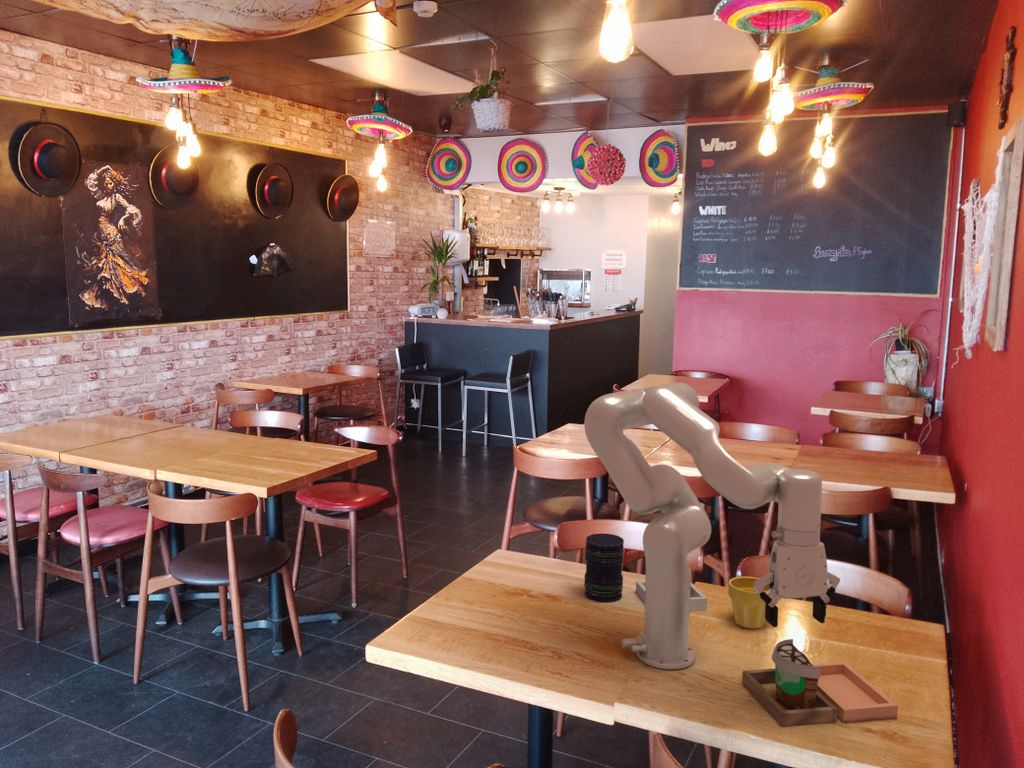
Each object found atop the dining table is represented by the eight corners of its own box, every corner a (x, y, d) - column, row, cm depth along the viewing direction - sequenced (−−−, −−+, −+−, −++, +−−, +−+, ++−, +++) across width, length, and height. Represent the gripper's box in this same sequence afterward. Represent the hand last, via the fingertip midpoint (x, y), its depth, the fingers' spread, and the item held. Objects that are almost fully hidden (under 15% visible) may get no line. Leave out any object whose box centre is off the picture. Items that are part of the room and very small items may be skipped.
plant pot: (731, 610, 193) (732, 572, 191) (774, 618, 188) (776, 580, 187) (722, 627, 183) (724, 587, 182) (768, 636, 179) (770, 595, 178)
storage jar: (624, 589, 205) (626, 535, 203) (620, 604, 195) (622, 547, 193) (586, 586, 207) (588, 532, 205) (581, 600, 198) (582, 544, 196)
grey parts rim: (653, 613, 191) (653, 601, 190) (635, 592, 203) (636, 581, 203) (706, 609, 193) (707, 598, 193) (686, 589, 206) (687, 578, 205)
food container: (759, 685, 157) (762, 638, 156) (788, 684, 157) (791, 637, 156) (785, 719, 145) (788, 669, 143) (817, 718, 145) (820, 668, 144)
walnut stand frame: (781, 726, 142) (782, 714, 142) (742, 682, 158) (742, 670, 158) (836, 721, 144) (837, 709, 144) (792, 678, 160) (792, 667, 160)
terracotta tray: (843, 722, 144) (844, 710, 144) (795, 676, 160) (796, 665, 160) (897, 717, 146) (898, 705, 145) (844, 673, 162) (844, 661, 162)
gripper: (765, 544, 141) (762, 634, 143) (852, 539, 144) (848, 627, 146) (746, 532, 149) (743, 617, 151) (829, 527, 152) (825, 611, 154)
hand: (795, 622), depth 149 cm, fingers open, 9 cm apart
